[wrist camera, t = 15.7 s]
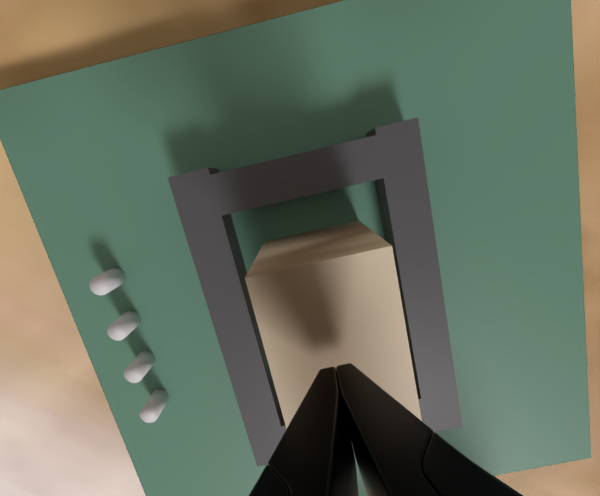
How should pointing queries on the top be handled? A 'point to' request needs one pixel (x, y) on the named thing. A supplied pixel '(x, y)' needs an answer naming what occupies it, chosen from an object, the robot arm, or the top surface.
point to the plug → (331, 312)
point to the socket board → (320, 221)
